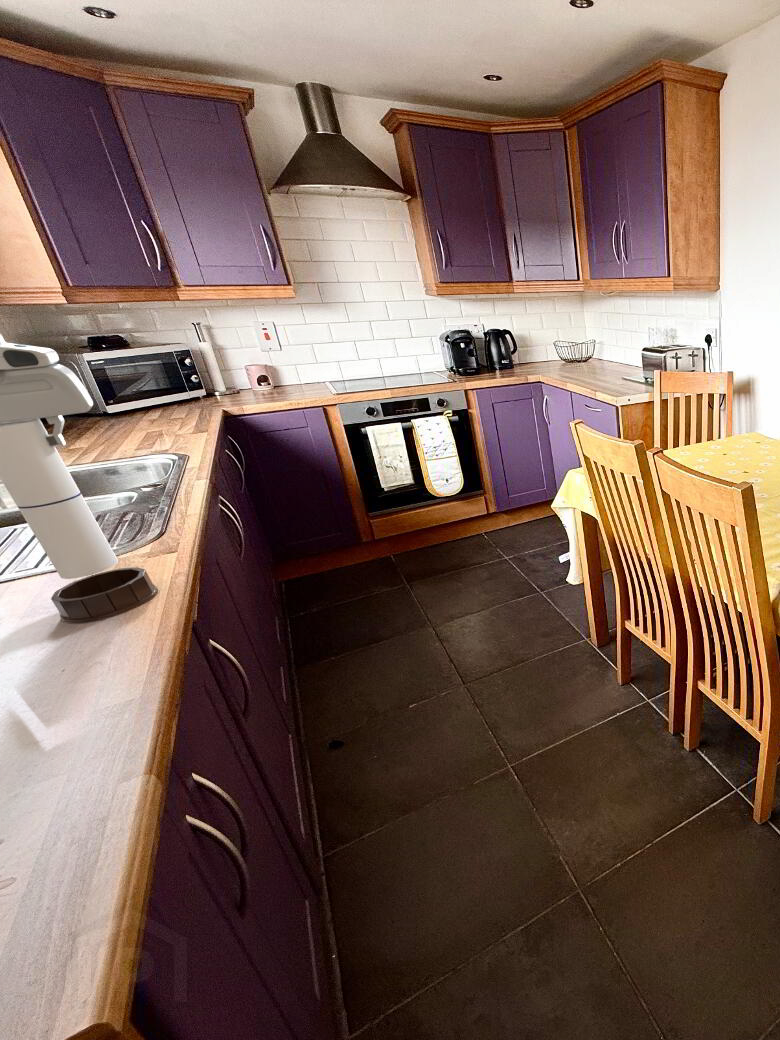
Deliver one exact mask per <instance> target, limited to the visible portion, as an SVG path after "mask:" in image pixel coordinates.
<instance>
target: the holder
mask: <svg viewBox="0 0 780 1040" xmlns="http://www.w3.org/2000/svg"><path fill="white" fill-rule="evenodd" d="M158 592H159V588H158V587H157V585H156V584H154V583H153V582H152V579H151V578H150V576H149V574H148V572H147V569H145V568H141V567H137V566H133V567H121V568H115V569H110V570H105V571H101V572H98V573H95V574H92V575H88V576H84V577H82V578H81V579H77V580H74V581H72V582H70V583H68V584H66V585H65V586H63V587H61V588H59V589H57V590H56V591H54V593H53V594H52V596H51V597H50V600H51V601H52V603H53V605H54V606H55V607H56V609H57V611H58V612H59V614H60V615H59V618H60V620H61V621H62V620H63V621H62V622H63V623H66V622H67V624H85V623H90V622H95V621H100V620H105V619H108V618H111V617H113V616H117V615H121V614H124V613H126V612H128V611H131V610H133V609H136V608H138V607H140V606H142V605H144V604H145V603H147V602H148V601H149V602H150V600H152V599H153V598H154V597H156V595H157V594H158Z"/></svg>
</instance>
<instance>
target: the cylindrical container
mask: <svg viewBox="0 0 780 1040" xmlns="http://www.w3.org/2000/svg"><path fill="white" fill-rule="evenodd" d="M48 435H49V433H48V431H47V429H46V428H45V426H44V424H43V422H42V421H41V418H38V419H30V420H22V421H14V422H7V423H0V480H1V482H2V484H3V486H4V487H5V489H6V490H7V492H8V494H9V495H10V497H11V499H12V501H13V502H14V504H15V505H16V507H17V508H18V510H19V512H20V514H21V515H22V516H23V518H24V520H25V521H26V524H27V525H28V526H29V528H30V530H31V532H32V533H33V535H34V537H35V538H36V539H37V541H38V543H39V545H40V546H41V548H42V549H43V552H44V553H45V554H46V556H47V557H48V559H49V561H50V562H51V564H52V565H53V567H54V569H55V570H56V572H57V574H58V576H59V577H60V579H63V580H70V579H78V578H85V577H88V576H91V575H95V574H98V573H102V572H105V571H107V570H109V569H111V568H113V567H115V566H116V565H117V564H119V559H118V558H117V556H116V554H115V551H114V550H113V548H112V546H111V545H110V544H109V541H108V539H107V538H106V536H105V534H104V532H103V531H102V529H101V527H100V526H99V523H98V522H97V520H96V518H95V516H94V514H93V513H92V511H91V509H90V507H89V505H88V503H87V501H86V500H85V498H84V496H83V494H82V493H81V491H80V489H79V486H77V483H76V482H75V480H74V478H73V476H72V474H71V472H70V471H69V469H68V467H67V466H66V464H65V462H64V460H63V458H62V456H61V455H60V453H59V451H58V449H57V447H51V446H50V445H49V443H50V442H48V441H47V439H46V436H48Z"/></svg>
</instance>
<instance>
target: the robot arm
mask: <svg viewBox="0 0 780 1040" xmlns="http://www.w3.org/2000/svg"><path fill="white" fill-rule="evenodd" d="M59 361H60V357H59V354H58V352H57V351H56V350H55V349H52V348H49V347H42V346H35V345H27V344H21V343H11V342H7V341H6V340H5V339H4V336H3V334H2V333H1V332H0V423H7V422H14V421H22V420H30V419H38V418H39V419H45V420H46V421H47V423H48V425H53V430H52V433H51V434H48V436H46V439H47V441H48V442H50V443H49V445H50V446H51V447H56V448H57V447H65V446H66V445H67V442H66V440H65V438H64V436H63V434H62V433H63V429H64V426H65V422H66V421H65V420H66V419H64V417H63V416H68V415H75V414H84V413H88V412H89V411H91V410H92V408H93V406H94V401H93V399H92V397H91V395H90V393H89V392H88V390H87V389H86V387H85V385H84V384H83V382H82V381H81V380H80V378H79V377H78V376H77V375H76V374H75V372H74V371H73V370H72V369H70V368H69V367H68V366H65V365H63V364H60V363H58V362H59Z"/></svg>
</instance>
